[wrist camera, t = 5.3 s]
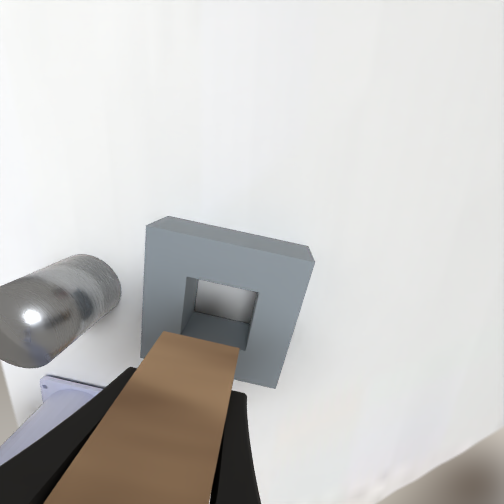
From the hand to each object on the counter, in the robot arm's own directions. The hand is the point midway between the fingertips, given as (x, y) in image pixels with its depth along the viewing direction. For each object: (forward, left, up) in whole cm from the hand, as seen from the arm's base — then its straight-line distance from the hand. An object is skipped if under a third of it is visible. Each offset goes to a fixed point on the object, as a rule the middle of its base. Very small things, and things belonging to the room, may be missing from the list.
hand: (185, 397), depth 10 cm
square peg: (0, 0, -2) cm, 2 cm away
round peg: (-2, +11, -9) cm, 14 cm away
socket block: (0, 0, -9) cm, 9 cm away
